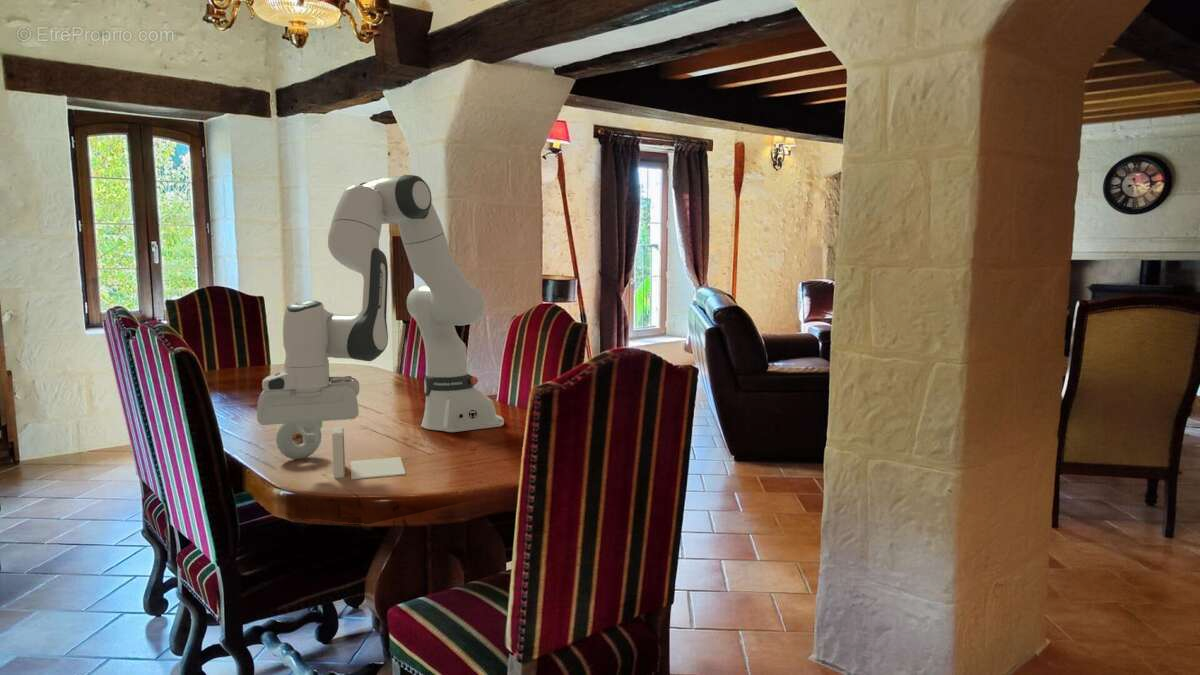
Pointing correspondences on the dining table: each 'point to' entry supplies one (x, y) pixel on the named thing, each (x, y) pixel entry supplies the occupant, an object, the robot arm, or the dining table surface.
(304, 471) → the dining table surface
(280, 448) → the donut
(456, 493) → the dining table surface
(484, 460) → the dining table surface
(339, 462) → the tile
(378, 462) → the placemat
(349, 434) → the dining table surface
